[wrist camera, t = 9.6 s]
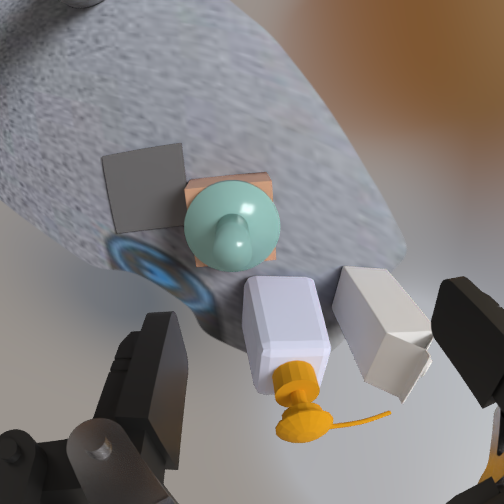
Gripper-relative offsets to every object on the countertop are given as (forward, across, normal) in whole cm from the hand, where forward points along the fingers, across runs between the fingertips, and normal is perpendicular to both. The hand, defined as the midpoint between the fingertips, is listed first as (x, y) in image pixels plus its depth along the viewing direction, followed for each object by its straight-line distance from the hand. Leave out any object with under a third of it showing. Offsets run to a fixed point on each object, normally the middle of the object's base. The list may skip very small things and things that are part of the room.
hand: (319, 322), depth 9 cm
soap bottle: (+30, -4, +20) cm, 36 cm away
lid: (+25, +3, +6) cm, 26 cm away
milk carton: (+30, -14, +19) cm, 38 cm away
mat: (+30, +13, +2) cm, 33 cm away
